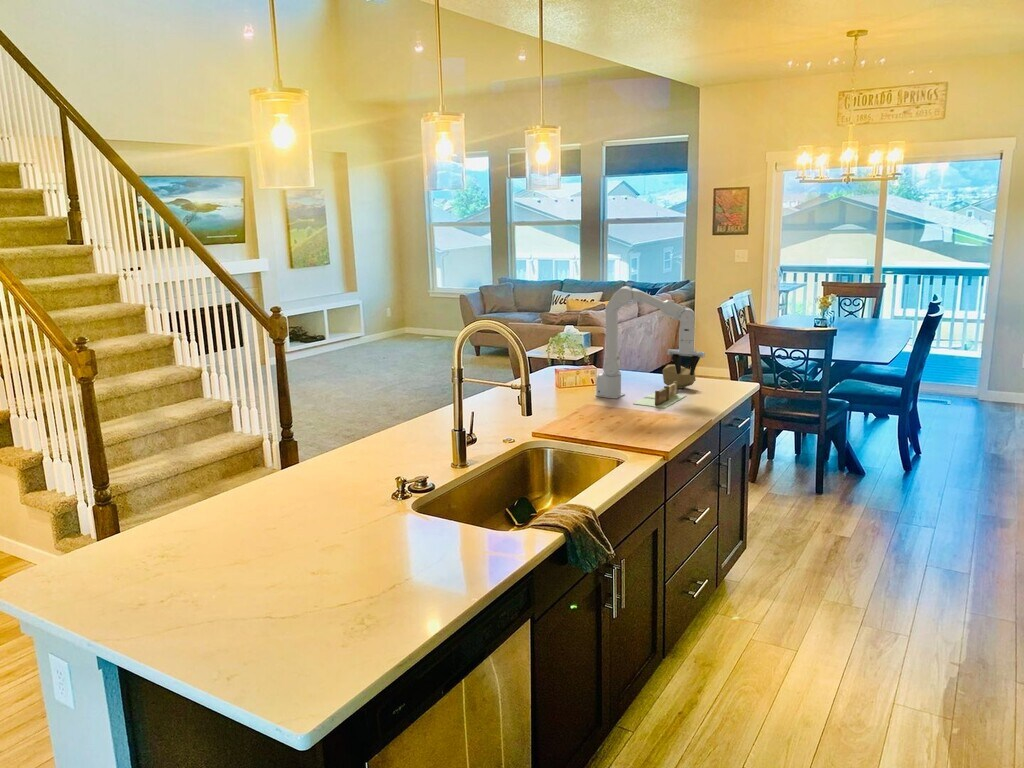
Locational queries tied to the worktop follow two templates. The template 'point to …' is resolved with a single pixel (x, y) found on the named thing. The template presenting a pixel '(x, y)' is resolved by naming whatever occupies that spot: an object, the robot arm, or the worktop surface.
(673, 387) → the hinged panel
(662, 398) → the fixed fence
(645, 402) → the board
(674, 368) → the low-poly potato
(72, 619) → the worktop surface
